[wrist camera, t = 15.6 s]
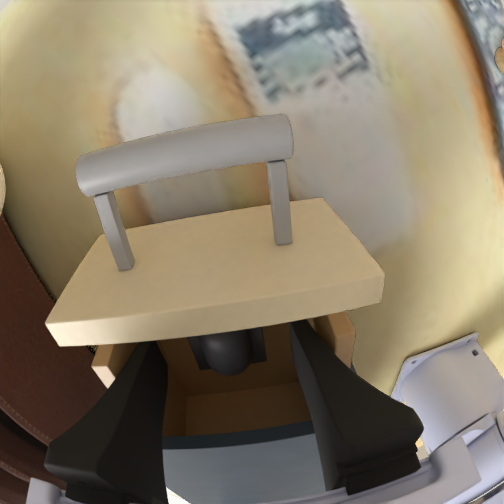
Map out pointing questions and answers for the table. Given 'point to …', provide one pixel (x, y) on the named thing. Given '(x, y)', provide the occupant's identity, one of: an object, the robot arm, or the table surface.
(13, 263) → the letter holder
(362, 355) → the table surface
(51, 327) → the drawer
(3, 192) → the white air blower bulb
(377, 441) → the robot arm
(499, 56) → the grandmother figurine
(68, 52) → the table surface
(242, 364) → the block
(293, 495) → the cabinet
